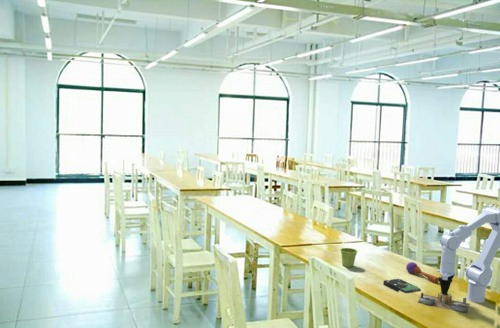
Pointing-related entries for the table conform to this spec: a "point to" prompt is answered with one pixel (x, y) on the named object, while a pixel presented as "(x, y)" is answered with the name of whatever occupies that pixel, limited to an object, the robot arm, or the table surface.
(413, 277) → the table surface
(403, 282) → the disk drive
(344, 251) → the plant pot
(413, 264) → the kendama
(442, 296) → the brass gear
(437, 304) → the gear board
